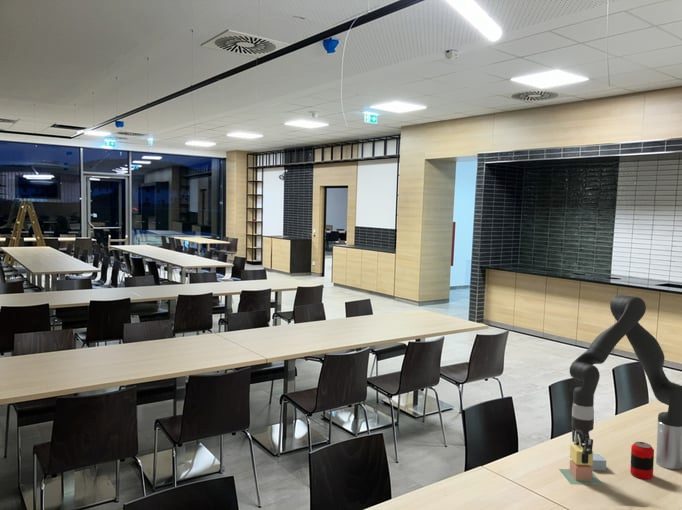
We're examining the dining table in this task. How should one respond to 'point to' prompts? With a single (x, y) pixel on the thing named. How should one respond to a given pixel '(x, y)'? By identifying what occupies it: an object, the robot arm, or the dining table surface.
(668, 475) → the dining table surface
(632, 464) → the soda can
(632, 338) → the robot arm
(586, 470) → the base brick
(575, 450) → the mustard brick
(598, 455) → the slate brick
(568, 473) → the build plate
